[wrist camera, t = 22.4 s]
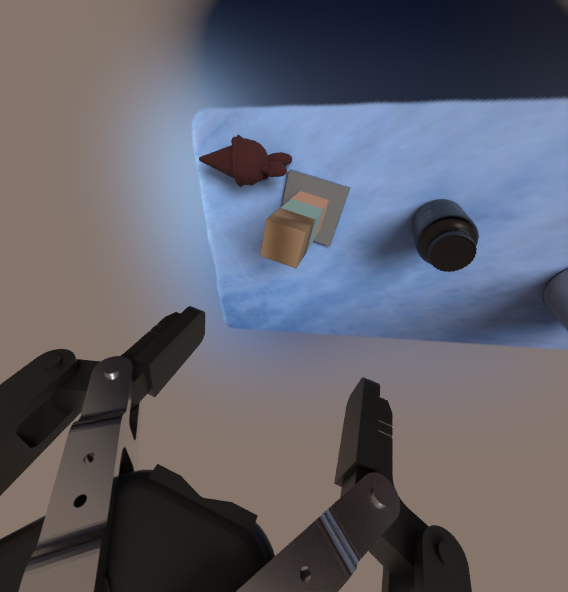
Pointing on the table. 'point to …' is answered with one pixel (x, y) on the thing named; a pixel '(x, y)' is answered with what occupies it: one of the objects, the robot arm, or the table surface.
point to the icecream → (247, 161)
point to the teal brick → (305, 213)
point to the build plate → (323, 190)
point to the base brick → (313, 203)
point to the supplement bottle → (445, 235)
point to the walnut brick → (287, 237)
